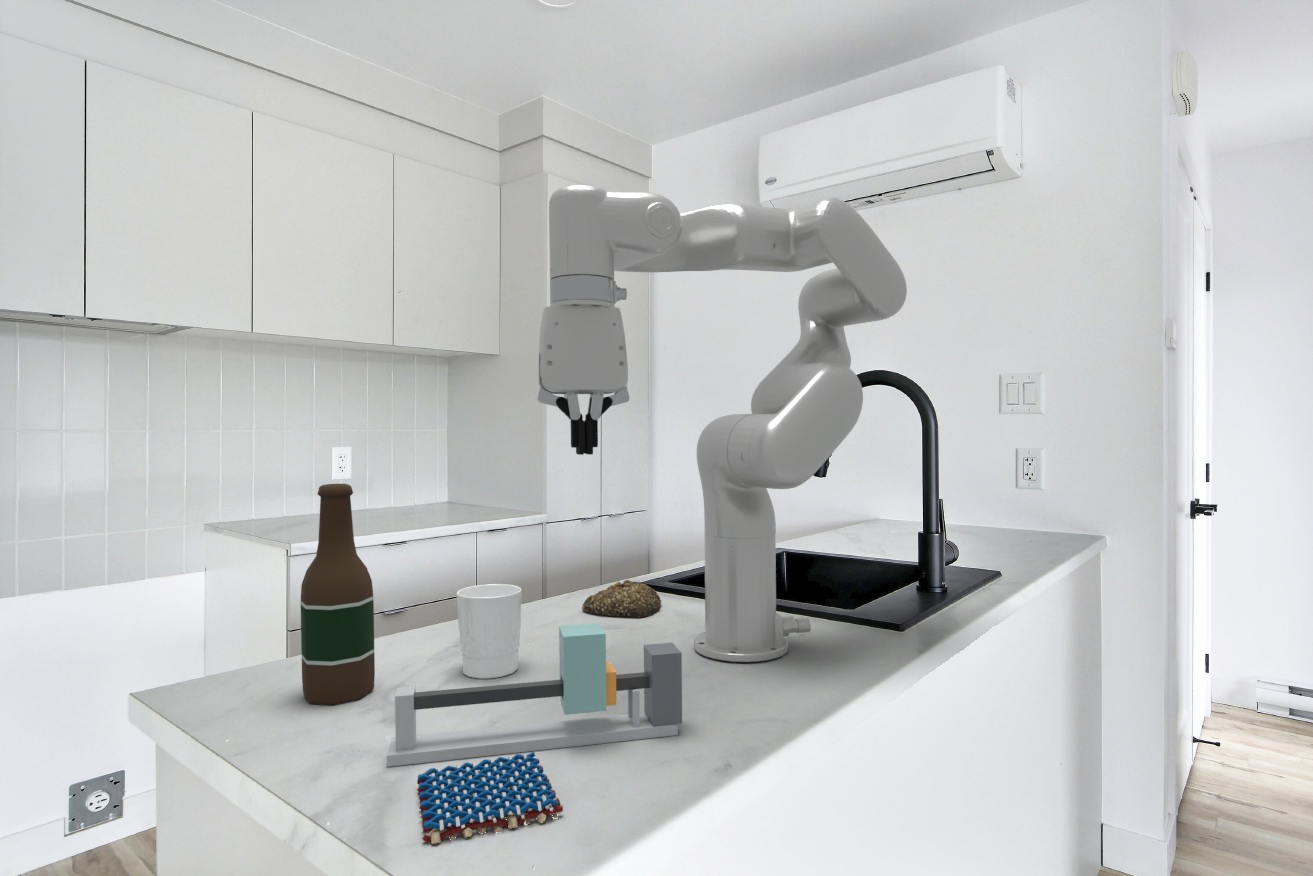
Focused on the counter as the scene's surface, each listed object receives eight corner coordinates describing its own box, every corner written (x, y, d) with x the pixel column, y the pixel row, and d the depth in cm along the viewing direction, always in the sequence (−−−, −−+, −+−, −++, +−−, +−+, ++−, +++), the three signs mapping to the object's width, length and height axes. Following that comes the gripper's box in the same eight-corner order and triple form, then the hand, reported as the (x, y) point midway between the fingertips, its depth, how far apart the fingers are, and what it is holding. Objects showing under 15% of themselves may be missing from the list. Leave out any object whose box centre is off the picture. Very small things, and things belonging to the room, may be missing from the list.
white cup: (507, 682, 89) (506, 598, 89) (446, 679, 91) (445, 596, 91) (531, 662, 97) (530, 584, 97) (474, 658, 99) (473, 583, 98)
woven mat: (567, 826, 58) (567, 800, 58) (423, 856, 54) (423, 828, 54) (539, 769, 68) (539, 746, 68) (416, 790, 64) (415, 767, 64)
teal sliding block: (599, 696, 76) (598, 623, 76) (606, 710, 72) (605, 633, 72) (560, 699, 75) (559, 626, 75) (564, 714, 71) (563, 637, 71)
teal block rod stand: (672, 719, 78) (671, 642, 78) (682, 734, 74) (682, 653, 74) (391, 748, 71) (390, 664, 71) (386, 766, 67) (385, 678, 67)
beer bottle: (329, 711, 81) (325, 488, 80) (286, 698, 85) (282, 485, 84) (389, 689, 87) (386, 483, 87) (347, 678, 92) (344, 481, 91)
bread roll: (641, 623, 117) (641, 591, 117) (573, 615, 122) (572, 584, 122) (675, 605, 128) (674, 576, 128) (611, 598, 133) (611, 570, 133)
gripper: (638, 303, 93) (640, 451, 94) (515, 300, 90) (518, 454, 90) (652, 293, 86) (653, 454, 86) (519, 289, 83) (521, 456, 83)
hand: (584, 453), depth 88 cm, fingers closed
